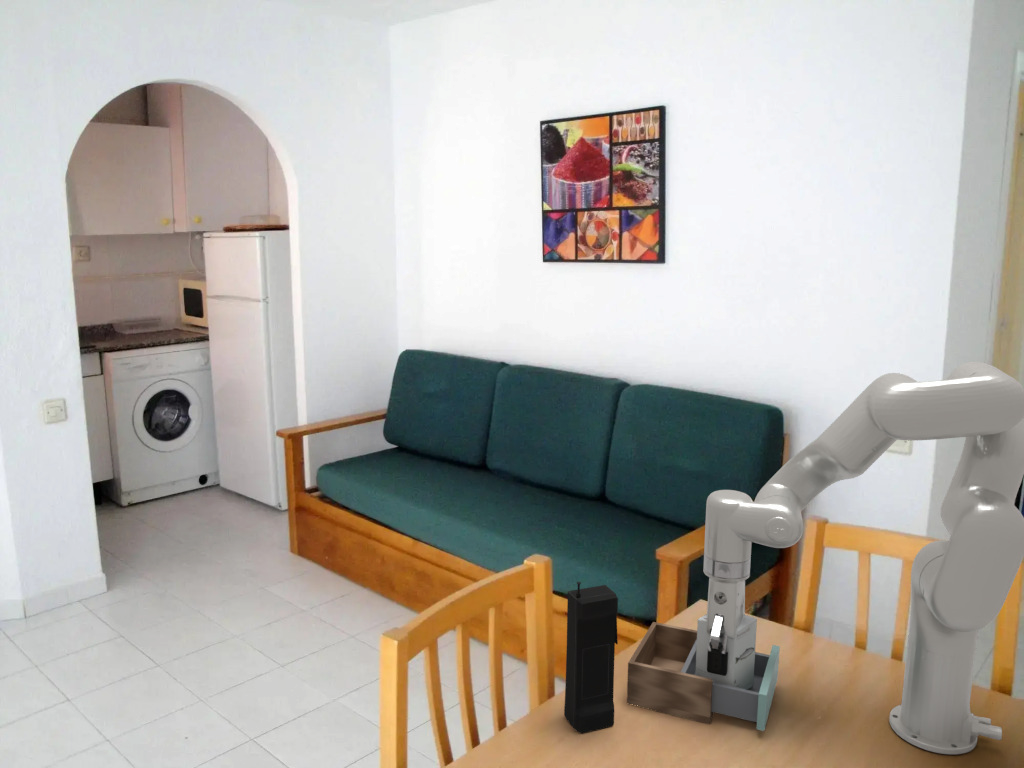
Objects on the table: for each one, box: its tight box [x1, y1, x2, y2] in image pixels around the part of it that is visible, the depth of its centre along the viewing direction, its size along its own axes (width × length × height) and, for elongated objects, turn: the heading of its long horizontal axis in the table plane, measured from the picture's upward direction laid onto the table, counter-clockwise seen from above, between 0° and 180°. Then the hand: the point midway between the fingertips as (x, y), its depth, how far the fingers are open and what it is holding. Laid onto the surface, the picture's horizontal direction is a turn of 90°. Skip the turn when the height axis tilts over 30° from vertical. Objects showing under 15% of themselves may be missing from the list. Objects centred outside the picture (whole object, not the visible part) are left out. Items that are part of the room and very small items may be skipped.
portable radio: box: [563, 581, 619, 734], centre depth 132 cm, size 8×6×25 cm
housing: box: [626, 621, 715, 725], centre depth 143 cm, size 14×16×8 cm
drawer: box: [681, 640, 781, 732], centre depth 139 cm, size 14×17×6 cm
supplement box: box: [695, 613, 758, 690], centre depth 138 cm, size 7×7×13 cm
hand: (722, 659), depth 139 cm, fingers closed on supplement box, 9 cm apart
